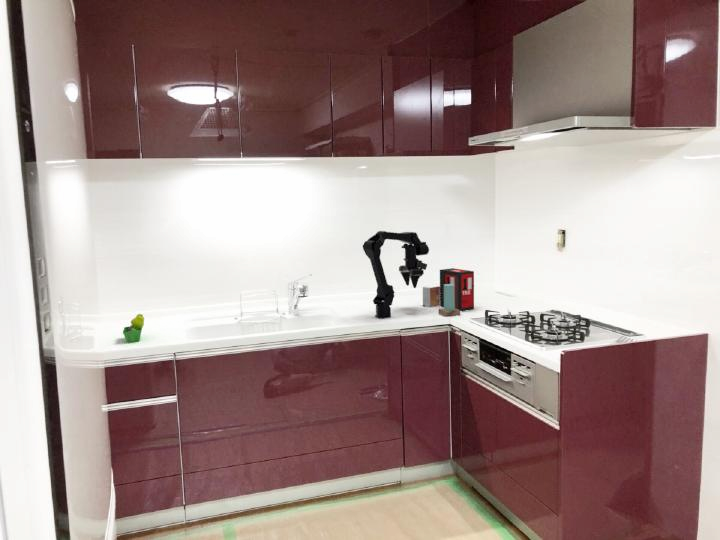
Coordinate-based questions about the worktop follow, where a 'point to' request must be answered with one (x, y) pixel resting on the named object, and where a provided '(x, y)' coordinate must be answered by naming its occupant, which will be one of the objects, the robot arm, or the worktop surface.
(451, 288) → the teal block
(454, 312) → the walnut slab
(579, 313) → the worktop surface
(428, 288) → the small box
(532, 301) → the worktop surface
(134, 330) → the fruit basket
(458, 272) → the cleaning product box
